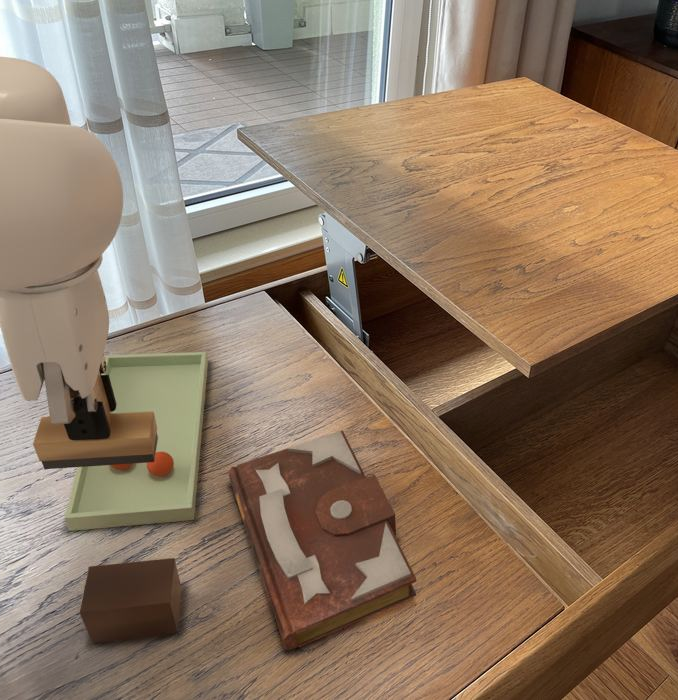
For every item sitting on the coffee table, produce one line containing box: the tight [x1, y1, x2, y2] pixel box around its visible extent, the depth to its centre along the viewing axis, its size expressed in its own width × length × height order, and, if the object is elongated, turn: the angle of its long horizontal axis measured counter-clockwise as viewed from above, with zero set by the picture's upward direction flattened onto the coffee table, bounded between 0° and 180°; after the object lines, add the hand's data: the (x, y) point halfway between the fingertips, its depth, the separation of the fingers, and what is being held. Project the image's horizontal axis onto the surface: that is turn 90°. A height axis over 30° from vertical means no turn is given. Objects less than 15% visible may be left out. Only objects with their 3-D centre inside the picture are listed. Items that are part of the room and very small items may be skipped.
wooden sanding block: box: [32, 371, 158, 470], centre depth 62 cm, size 3×9×10 cm, turn 102°
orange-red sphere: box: [147, 452, 174, 477], centre depth 86 cm, size 3×3×3 cm
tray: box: [63, 351, 209, 532], centre depth 91 cm, size 27×13×2 cm, turn 12°
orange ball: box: [110, 464, 132, 470], centre depth 86 cm, size 3×3×3 cm
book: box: [227, 429, 417, 651], centre depth 82 cm, size 23×16×5 cm
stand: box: [79, 557, 183, 644], centre depth 72 cm, size 5×8×6 cm, turn 102°
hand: (93, 422), depth 62 cm, fingers closed on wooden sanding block, 2 cm apart
